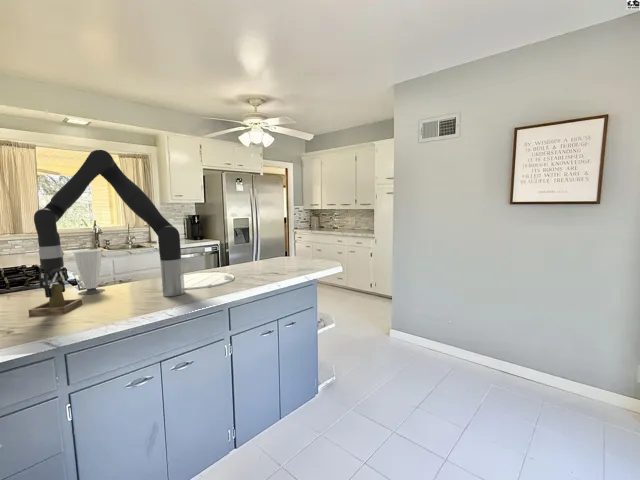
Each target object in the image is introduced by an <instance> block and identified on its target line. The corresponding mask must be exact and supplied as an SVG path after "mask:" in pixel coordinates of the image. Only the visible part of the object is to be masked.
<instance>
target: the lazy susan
mask: <svg viewBox="0 0 640 480" xmlns="http://www.w3.org/2000/svg"><path fill="white" fill-rule="evenodd" d="M234 280H235V276H234V275H233V274H232V272H229V273H226V272H200V273H190V274H184V288H185V290H196V289H206V288H211V287H217V286H222V285H225V284H228V283H230V282H232V281H234ZM161 286H162V282H161Z"/></svg>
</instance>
